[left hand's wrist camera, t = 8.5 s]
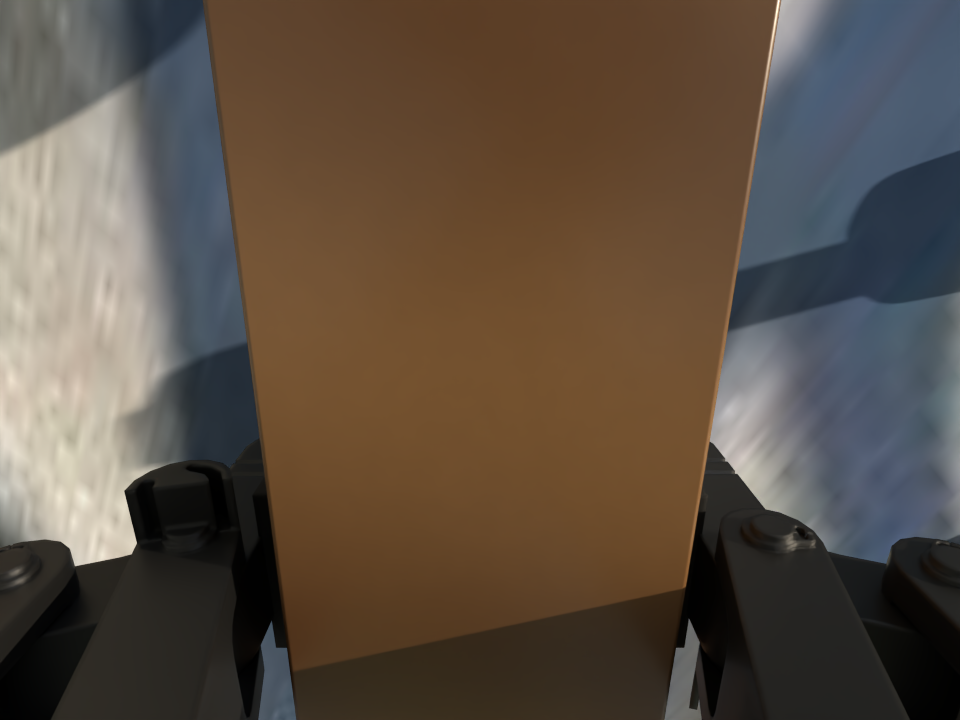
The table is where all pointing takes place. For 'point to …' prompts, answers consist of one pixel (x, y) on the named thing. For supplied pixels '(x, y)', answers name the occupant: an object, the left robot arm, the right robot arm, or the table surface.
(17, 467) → the table surface
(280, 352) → the post
